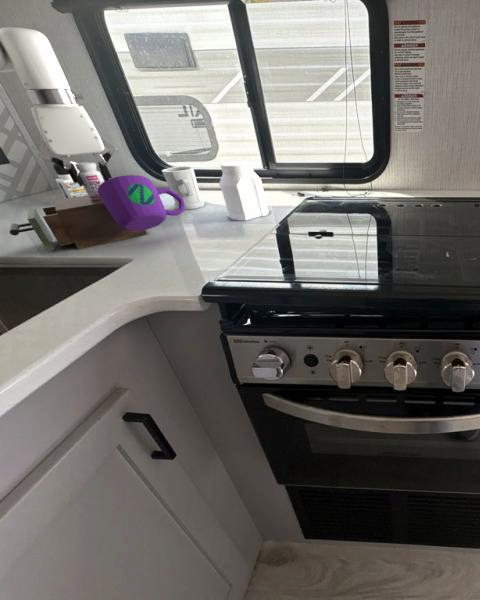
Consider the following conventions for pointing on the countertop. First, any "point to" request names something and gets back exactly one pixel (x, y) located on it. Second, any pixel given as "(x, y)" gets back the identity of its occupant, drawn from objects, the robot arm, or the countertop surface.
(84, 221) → the cabinet
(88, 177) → the pill bottle
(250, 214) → the jar
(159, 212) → the mug
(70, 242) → the drawer
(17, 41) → the robot arm
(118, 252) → the countertop surface
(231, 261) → the countertop surface
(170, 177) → the cup
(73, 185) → the container
